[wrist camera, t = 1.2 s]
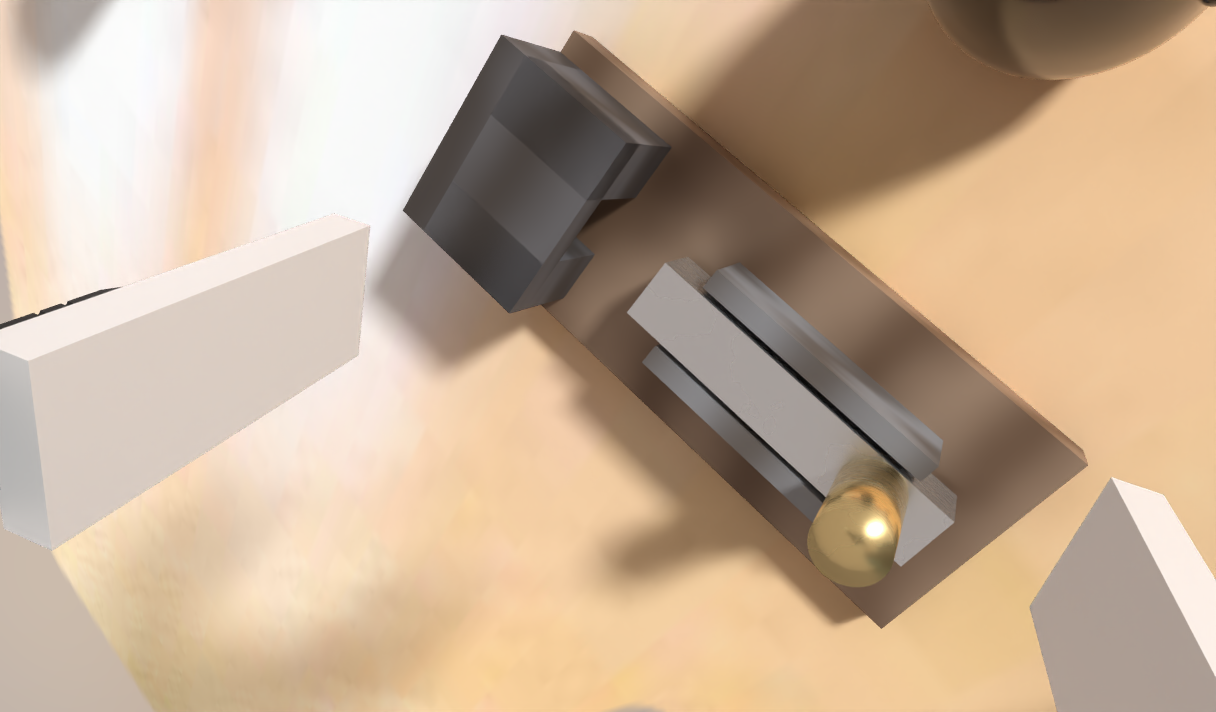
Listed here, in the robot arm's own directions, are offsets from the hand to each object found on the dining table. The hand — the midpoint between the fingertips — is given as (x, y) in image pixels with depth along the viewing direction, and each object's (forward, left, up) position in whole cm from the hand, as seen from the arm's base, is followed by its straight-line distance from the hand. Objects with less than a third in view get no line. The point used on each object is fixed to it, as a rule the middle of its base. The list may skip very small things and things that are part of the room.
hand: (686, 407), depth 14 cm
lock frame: (+3, +6, -25) cm, 26 cm away
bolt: (-1, +6, -23) cm, 24 cm away
